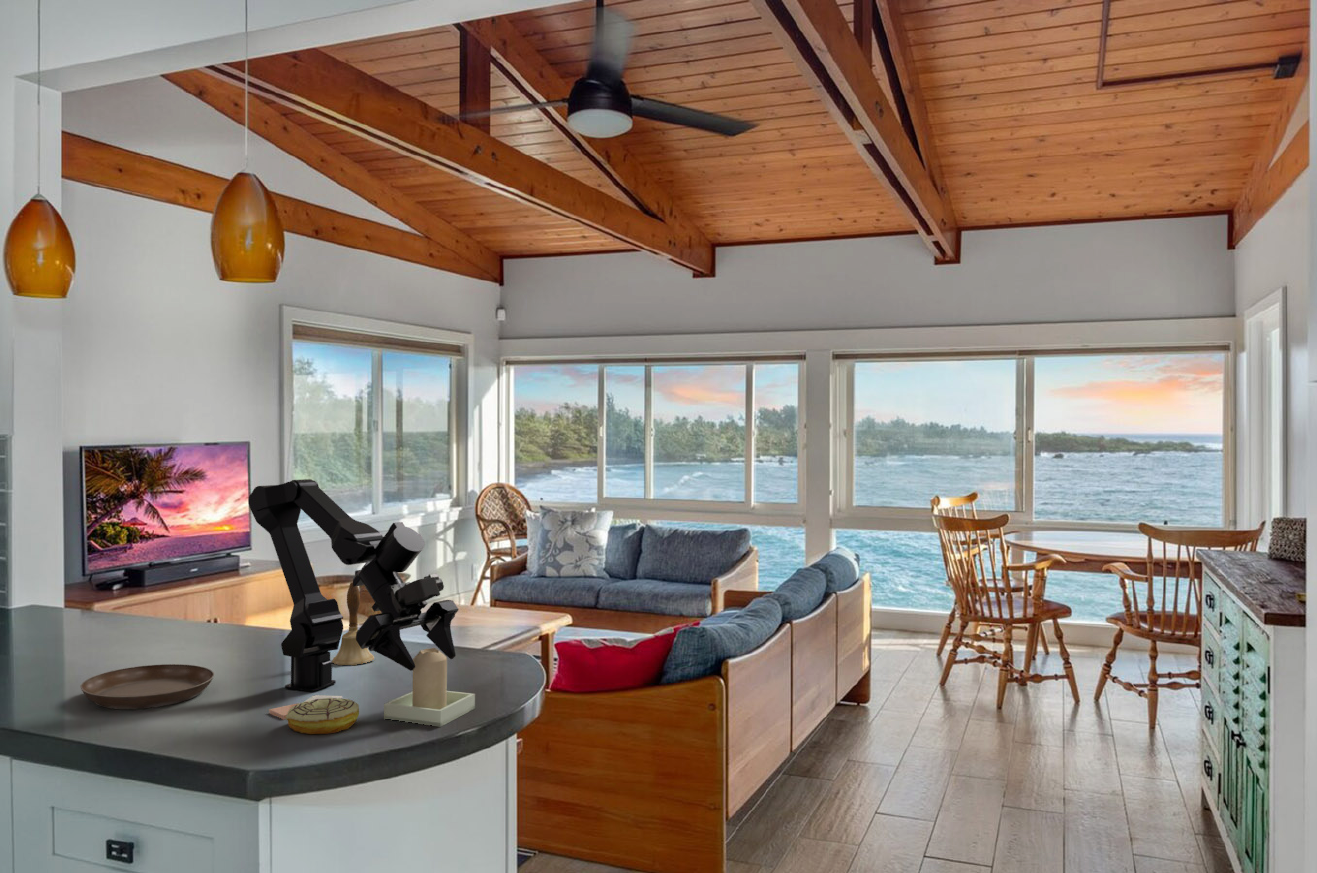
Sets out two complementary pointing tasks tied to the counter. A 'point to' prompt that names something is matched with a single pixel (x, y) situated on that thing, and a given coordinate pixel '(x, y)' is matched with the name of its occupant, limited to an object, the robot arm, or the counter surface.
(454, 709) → the tray
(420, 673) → the candle
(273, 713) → the tile terracotta
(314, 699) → the tile white
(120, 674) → the plant saucer
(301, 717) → the decorated donut
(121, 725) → the counter surface
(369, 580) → the robot arm
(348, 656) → the hand bell
